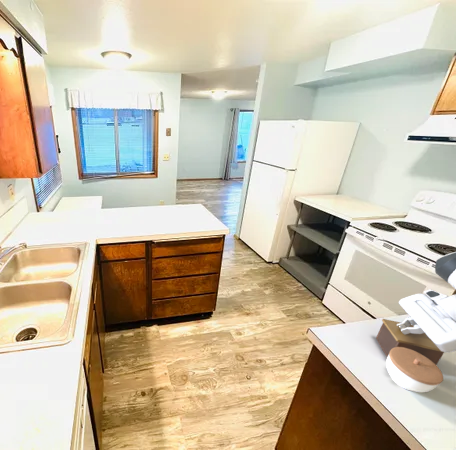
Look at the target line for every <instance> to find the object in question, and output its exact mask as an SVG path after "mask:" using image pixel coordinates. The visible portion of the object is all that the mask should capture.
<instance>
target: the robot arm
mask: <svg viewBox="0 0 456 450" xmlns="http://www.w3.org/2000/svg"><path fill="white" fill-rule="evenodd" d="M434 271H435V272H434V273H435V274H436V275H437V276H438V277H440V278H441V279H442V280H443V281H445V282H446V283H447V284H449V285H450V286H451V287H452V288H453V289H455V290H456V251H454V252H449V253H447V254H445V255H443V256H441V257H439V258H438V259H436V261H435V266H434ZM398 305H399V306H400V307H401V308H402V309H403V310H404V312H405V313H406V314H407V315H408V317H406V318H404V320H403V321H402V322H401V323H399V324H397V326H398V328H399V329H400V330H401V331H402V333H403V334H405V335H406V334H409V333H414V334H422V333H425V334H426V335H427V336H428V337H429V338H430V339H431V340H432V342H433V343H434V344H435V345H436V346H437V347H438V348H439V349H440V350H441V351H442V352H444V353H453V352H456V293H455V294H452V295H447V294H443V293H442V292H439V291H436V290H434V289H426V290H424V291H423V293H420V292H419V293H414V294H411V295H408V296H405V297H403V298H401V299H399V301H398ZM410 325H415V326H414V327H409V326H410Z"/></svg>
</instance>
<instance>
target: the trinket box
mask: <svg viewBox="0 0 456 450" xmlns="http://www.w3.org/2000/svg"><path fill="white" fill-rule="evenodd" d="M385 367H386V371H387V373H388V374H389V376H390V378H391V379H392V381H394V383H395V384H396V385H398V386H399V387H401V388H402V389H404V390H407V391H410V392H414V393H415V392H416V393H428V392H431V391H433V390H434V389H435V388H437V387H438V386H439V385H440V384H442V383H443V381H444V375H443V372H442V371H441V369H440V368H439V367H438V365H435V364H434V363H433V362H432V361H431V360H429V359H428V358H426V357H425V356H423V355H422V354H420V353H418V352H416V351H413V350H411V349H408V348H403V347H395V348H392V349H391V350H390V353H389V355H388V357H386V360H385Z"/></svg>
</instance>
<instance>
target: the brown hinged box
mask: <svg viewBox="0 0 456 450" xmlns="http://www.w3.org/2000/svg"><path fill="white" fill-rule="evenodd" d="M375 339H376V341H377V343H378V345H379V346H380V348H381V351H383V353H384V355H385V356H386V358H387V357H388V355H389V353H390V350H391V349H392V348H395V347H403V348H408V349H411V350H413V351H416V352H418V353H420V354H422V355H423V356H425V357H426V358H428V359H429V360H431V361H432V362H433V363H434V364H435V365H436V366H438V363H439V361H440V360H441V358H442V357H443V355H444V354H445V352H440V351H436V350H432V349H427V348H423V347H419V346H414V345H410V344H406V343H401V342H397V341H396V339H395V338H394V337H393V335H392V334H391V332H390V331H389V330H388V328H387V327H386V325H385V324H384V323H383V322H382V324H381V326H380V329H379V331H378V333H377V335H376V337H375Z"/></svg>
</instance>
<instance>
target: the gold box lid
mask: <svg viewBox="0 0 456 450" xmlns="http://www.w3.org/2000/svg"><path fill="white" fill-rule="evenodd" d="M381 321H382V324H383V323H384V324H385V325H386V327H387V328H388V330H389V331H390V332H391V334H392V335H393V337H394V338H395V339H396V341H397V342H401V343H406V344H410V345H414V346H419V347H423V348H427V349H432V350H436V351H440V352H442V351H441V350H440V349H439V348H438V347H437V346H436V345H435V344H434V343H433V342H432V340H431V339H430V338H429V337H428V336H427V335H426V334H425V333H422V334H414V333H409V334H406V335H405V334H403V333H402V331H401V330H400V329H399V328H398V326H397V324H399V323H402V322H400V321H395V320H391V319H386V318H382V319H381ZM414 326H415V325H412V324H411V325H410V326H409V327H414Z"/></svg>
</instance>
